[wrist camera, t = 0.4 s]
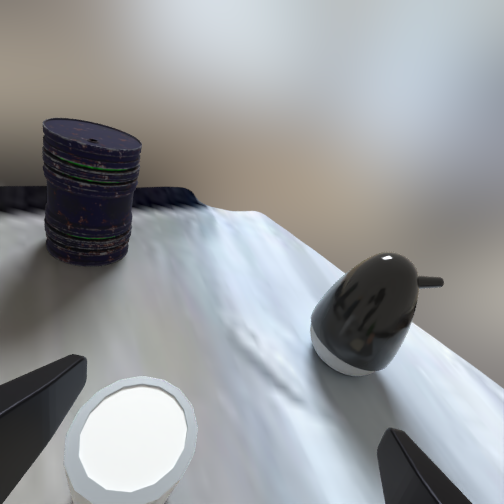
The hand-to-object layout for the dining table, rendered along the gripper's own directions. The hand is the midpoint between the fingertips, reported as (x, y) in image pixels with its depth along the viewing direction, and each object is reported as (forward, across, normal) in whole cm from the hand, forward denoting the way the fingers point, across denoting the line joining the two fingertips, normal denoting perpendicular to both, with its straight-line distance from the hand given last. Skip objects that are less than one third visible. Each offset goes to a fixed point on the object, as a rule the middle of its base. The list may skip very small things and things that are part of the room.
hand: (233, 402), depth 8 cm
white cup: (+6, +6, +16) cm, 18 cm away
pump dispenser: (+25, -13, +15) cm, 32 cm away
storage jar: (+29, +23, +9) cm, 38 cm away
